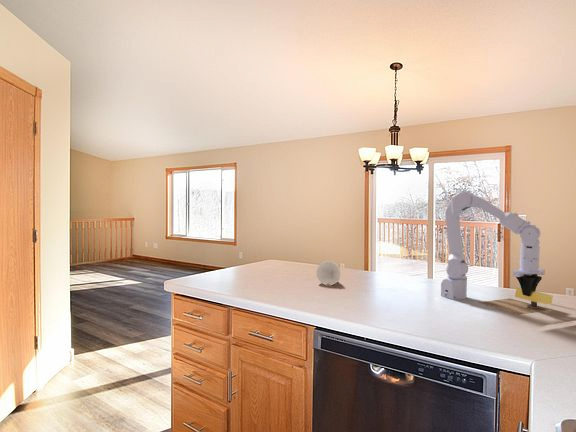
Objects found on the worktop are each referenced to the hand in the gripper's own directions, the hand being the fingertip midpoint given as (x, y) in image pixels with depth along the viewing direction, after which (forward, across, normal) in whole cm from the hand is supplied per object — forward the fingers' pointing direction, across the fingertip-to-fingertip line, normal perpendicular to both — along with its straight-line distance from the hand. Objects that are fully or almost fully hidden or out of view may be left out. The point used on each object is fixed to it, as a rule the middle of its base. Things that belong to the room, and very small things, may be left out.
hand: (528, 295), depth 126 cm
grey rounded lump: (+6, -44, +67) cm, 80 cm away
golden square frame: (+2, +3, 0) cm, 4 cm away
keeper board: (+6, -2, +4) cm, 7 cm away
